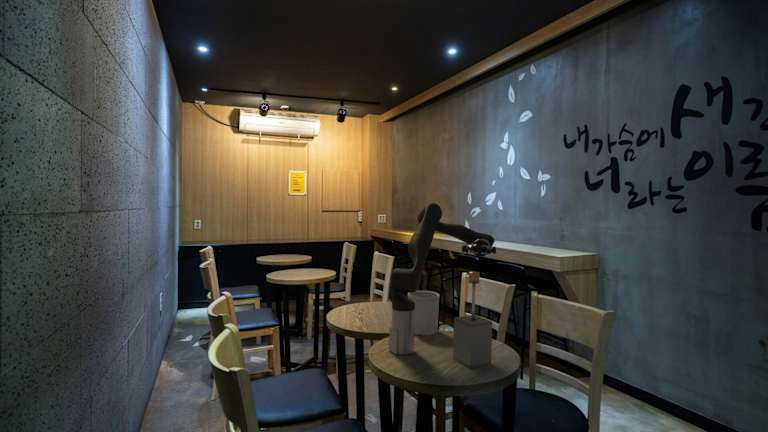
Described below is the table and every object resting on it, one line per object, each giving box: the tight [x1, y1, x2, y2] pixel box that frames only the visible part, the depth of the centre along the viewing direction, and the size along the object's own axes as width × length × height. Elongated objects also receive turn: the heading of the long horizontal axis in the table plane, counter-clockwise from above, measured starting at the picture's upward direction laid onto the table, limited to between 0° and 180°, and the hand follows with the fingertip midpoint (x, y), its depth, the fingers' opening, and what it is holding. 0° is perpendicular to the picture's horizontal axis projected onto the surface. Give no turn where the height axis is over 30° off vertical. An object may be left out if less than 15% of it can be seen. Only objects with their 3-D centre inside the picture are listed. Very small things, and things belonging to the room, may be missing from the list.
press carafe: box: [452, 314, 493, 369], centre depth 156 cm, size 10×10×16 cm
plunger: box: [468, 270, 481, 321], centre depth 156 cm, size 8×8×23 cm
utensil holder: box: [407, 290, 441, 336], centre depth 193 cm, size 15×15×18 cm
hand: (477, 251), depth 171 cm, fingers open, 8 cm apart
